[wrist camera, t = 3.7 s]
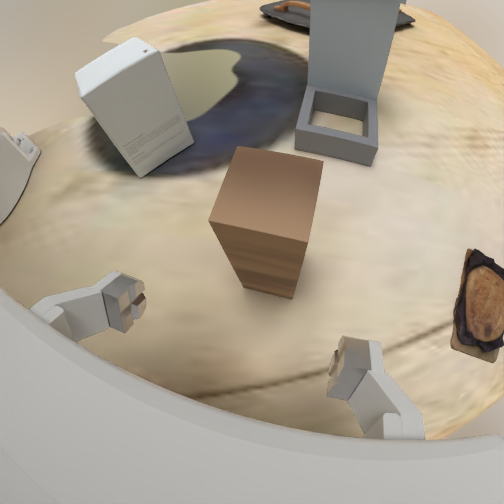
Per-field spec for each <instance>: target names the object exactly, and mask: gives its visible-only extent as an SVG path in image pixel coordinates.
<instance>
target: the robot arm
mask: <svg viewBox="0 0 504 504" xmlns="http://www.w3.org/2000/svg"><path fill="white" fill-rule="evenodd" d="M40 152H41V150H40V149H39V148H38V147H37V146H36V145H35V144H34V143H33V142H32V141H31V140H30V139H29V138H28V137H27V136H26V135H25V134H24V133H23V132H20V133H19V134H18V135H16V136H15V137H14V138H13V137H12V136H11V135H10V134H9V133H8V132H7V131H6V130H5V129H4V128H0V224H1V223H2V222H3V221H4V220H5V218H6V217H7V216H8V215H9V213H10V212H11V210H12V209H13V208H14V206H15V204H16V203H17V201H18V199H19V198H20V196H21V194H22V192H23V190H24V188H25V186H26V183H27V181H28V178H29V175H30V172H31V169H32V167H33V165H34V163H35V162H36V160H37V158H38V156H39V154H40ZM144 290H145V287H144V282H143V281H142V280H139V279H136V278H134V277H131V276H128V275H126V274H123V273H120V272H118V271H112V272H111V273H109V274H108V275H107V276H105V277H104V278H103V279H101V280H100V281H99V282H97V283H96V284H95V285H93V286H92V287H89V286H88V287H84V288H80V289H76V290H72V291H67V292H63V293H59V294H55V295H51V296H46V297H44V298H43V299H41V300H40V301H39V302H38V303H36V304H35V305H34V306H32V307H31V308H30V309H29V310H28V309H26V308H25V307H24V306H23V305H21V304H20V303H19V302H18V301H16V300H15V299H14V298H13V297H11V296H10V295H9V294H8V293H7V292H5V291H4V290H3V289H2V288H1V287H0V504H504V438H503V437H502V436H501V435H500V434H497V433H493V434H486V435H479V436H472V437H463V438H454V439H439V440H425V431H424V424H423V417H422V413H421V412H420V411H419V410H418V408H417V407H416V406H415V405H414V404H413V402H412V401H411V400H410V399H409V397H408V396H407V395H406V394H405V393H404V391H403V390H402V389H401V388H400V387H399V385H398V384H397V383H396V382H395V381H394V379H393V378H392V377H391V376H390V375H389V374H388V373H385V370H384V362H383V355H382V349H381V343H380V342H378V341H371V340H364V339H358V338H353V337H348V336H342V337H341V339H340V341H339V343H338V350H336V351H335V352H334V354H333V356H332V359H331V362H330V367H329V375H330V377H331V378H330V380H329V382H328V388H327V397H332V398H337V399H342V400H348V401H347V402H348V403H349V405H350V407H351V409H352V411H353V413H354V415H355V417H356V419H357V421H358V423H359V425H360V426H361V428H362V430H363V432H364V434H365V435H364V436H363V437H362V438H356V437H346V436H338V435H331V434H324V433H318V432H312V431H306V430H301V429H295V428H291V427H286V426H281V425H277V424H272V423H268V422H264V421H260V420H256V419H253V418H249V417H245V416H242V415H238V414H235V413H232V412H228V411H225V410H222V409H219V408H216V407H213V406H210V405H207V404H204V403H201V402H198V401H196V400H193V399H190V398H188V397H185V396H182V395H180V394H177V393H175V392H172V391H170V390H168V389H165V388H163V387H161V386H158V385H156V384H154V383H151V382H149V381H147V380H145V379H143V378H141V377H138V376H136V375H134V374H132V373H130V372H128V371H126V370H124V369H122V368H120V367H118V366H116V365H114V364H113V363H111V362H109V361H107V360H105V359H103V358H101V357H100V356H98V355H96V354H94V353H93V352H91V351H89V350H87V349H86V348H84V347H82V346H81V345H79V344H77V343H76V342H78V341H80V340H82V339H85V338H87V337H89V336H92V335H94V334H96V333H98V332H101V331H103V330H105V329H108V328H110V327H111V328H114V329H116V330H118V331H121V332H123V333H126V332H127V331H128V330H129V328H130V327H131V326H132V325H133V324H134V321H133V320H135V319H138V318H140V317H141V316H142V314H143V313H144V310H145V308H146V298H145V296H144V294H143V293H142V292H143V291H144Z"/></svg>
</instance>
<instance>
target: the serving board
mask: <svg viewBox="0 0 504 504" xmlns="http://www.w3.org/2000/svg"><path fill="white" fill-rule="evenodd" d="M310 1H311V0H283V1H279V2H274V3H271V4H267V5H263V6H261V7H260V10H261V11H262V12H263V13H264V16H265V17H266V18H272V17H274V18H278V19H280V20H283V21H285V22H288V23H292V24H296V25H299V26H303V27H307V28H310ZM412 22H415V19H413V18H412V17H411V16H409V15H407V14H405V13H404V12H402V10H400V9H399V12H398V17H397V22H396V26H399V25H404V24H407V25H410V23H412Z"/></svg>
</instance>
